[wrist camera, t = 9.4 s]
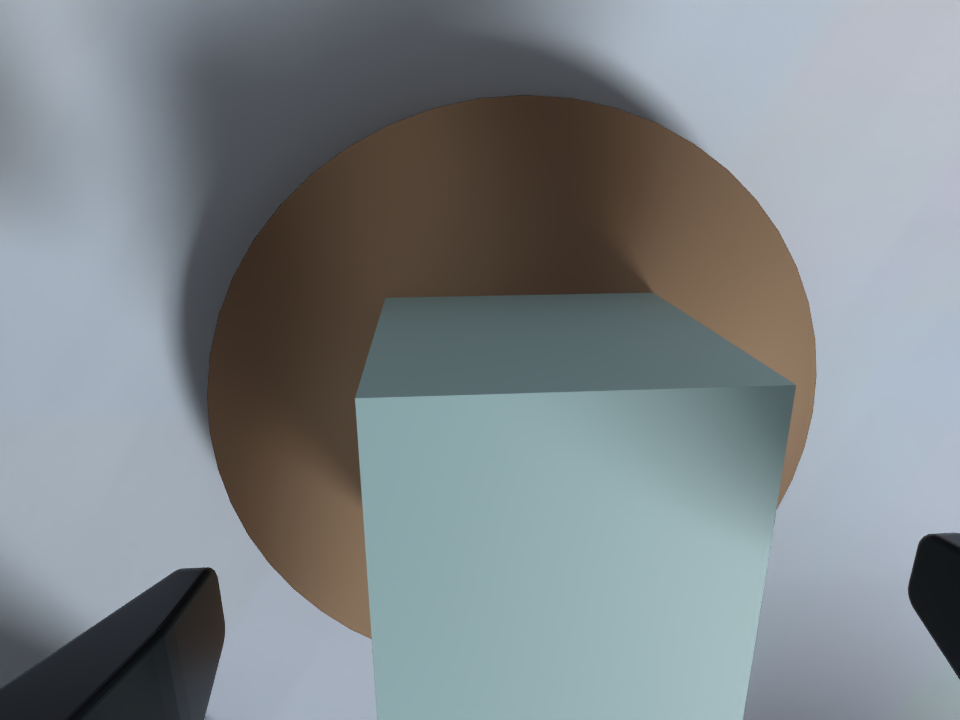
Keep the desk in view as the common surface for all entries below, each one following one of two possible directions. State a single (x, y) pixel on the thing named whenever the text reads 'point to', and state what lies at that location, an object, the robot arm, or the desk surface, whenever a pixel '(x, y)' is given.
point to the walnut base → (468, 291)
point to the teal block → (565, 508)
